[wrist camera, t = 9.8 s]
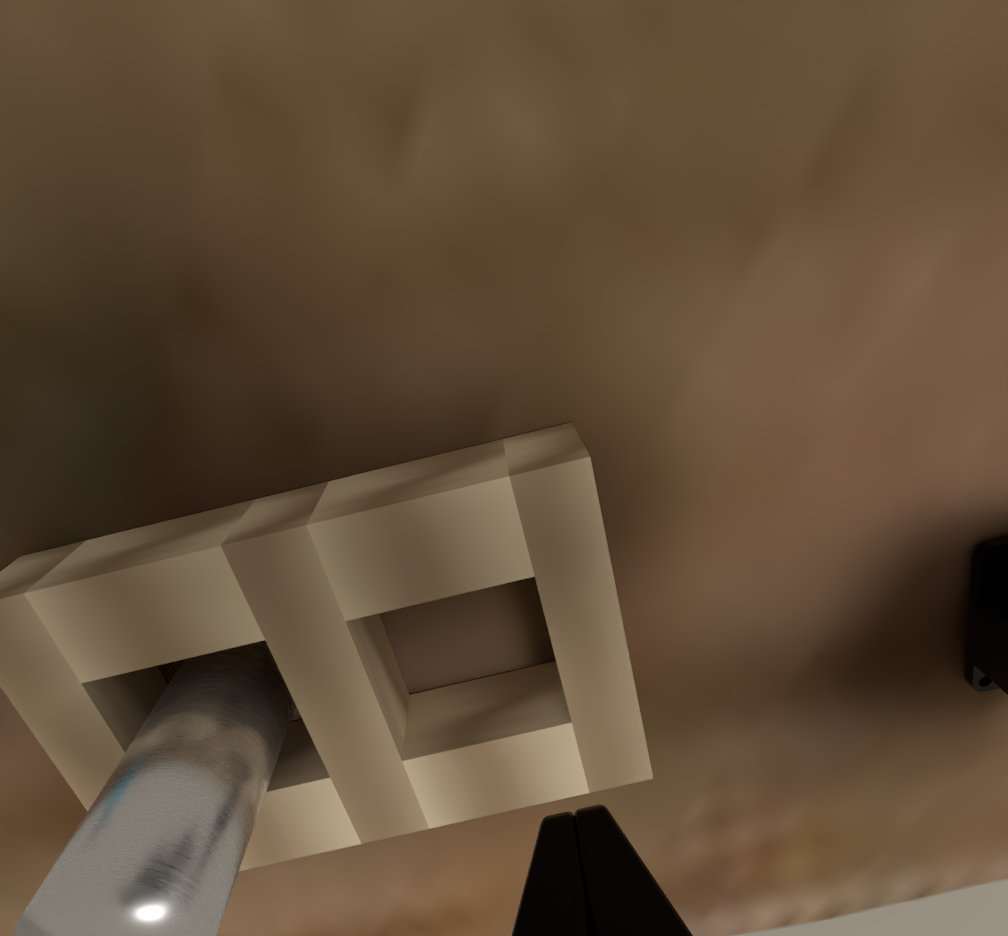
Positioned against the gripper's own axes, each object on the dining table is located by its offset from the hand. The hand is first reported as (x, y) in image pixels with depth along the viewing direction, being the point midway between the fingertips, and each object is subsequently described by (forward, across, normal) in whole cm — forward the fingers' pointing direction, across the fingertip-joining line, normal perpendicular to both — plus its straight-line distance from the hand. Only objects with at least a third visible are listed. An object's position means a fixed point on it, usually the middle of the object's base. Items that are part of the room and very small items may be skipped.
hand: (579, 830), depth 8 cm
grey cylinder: (+12, +11, +5) cm, 17 cm away
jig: (+12, +7, +5) cm, 15 cm away
